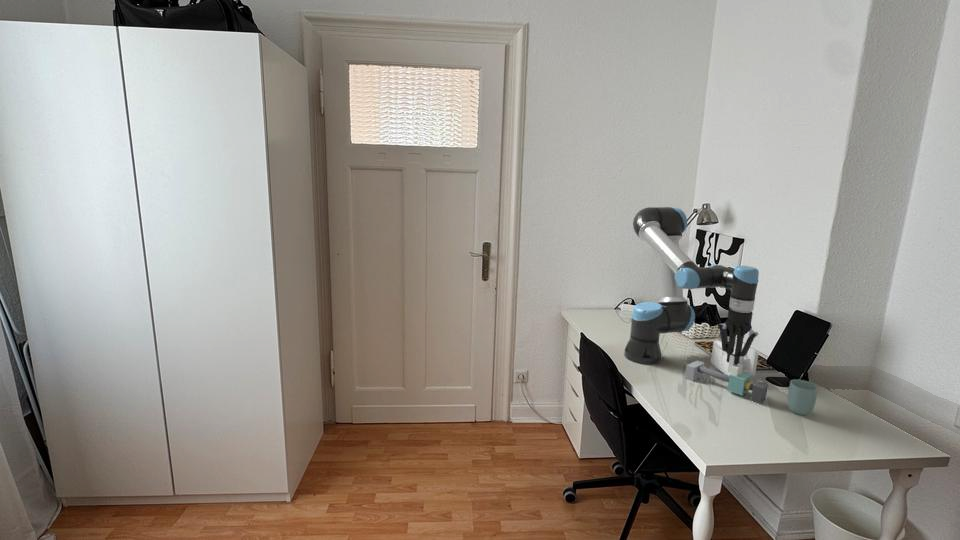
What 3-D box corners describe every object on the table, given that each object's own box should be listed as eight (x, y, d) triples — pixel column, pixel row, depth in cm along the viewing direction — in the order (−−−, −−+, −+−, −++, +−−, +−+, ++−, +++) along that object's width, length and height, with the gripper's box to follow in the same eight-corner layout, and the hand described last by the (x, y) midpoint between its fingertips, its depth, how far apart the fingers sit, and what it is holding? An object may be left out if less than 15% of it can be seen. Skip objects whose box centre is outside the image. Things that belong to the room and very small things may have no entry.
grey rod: (694, 371, 176) (695, 365, 176) (697, 370, 178) (698, 363, 177) (753, 392, 160) (754, 386, 160) (756, 390, 162) (757, 383, 161)
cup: (813, 420, 148) (819, 392, 146) (785, 413, 152) (790, 385, 150) (812, 410, 155) (817, 383, 152) (784, 403, 159) (789, 377, 156)
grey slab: (685, 378, 177) (686, 365, 175) (695, 372, 182) (696, 360, 180) (692, 381, 174) (694, 368, 173) (702, 375, 179) (704, 362, 178)
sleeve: (727, 390, 166) (730, 367, 164) (734, 385, 169) (738, 363, 167) (741, 395, 162) (745, 372, 160) (748, 390, 165) (752, 367, 163)
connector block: (750, 400, 160) (753, 385, 159) (756, 396, 163) (758, 381, 162) (759, 404, 158) (762, 388, 157) (765, 400, 161) (768, 384, 160)
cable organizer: (756, 380, 176) (761, 352, 174) (730, 380, 175) (734, 352, 173) (732, 364, 191) (736, 338, 188) (708, 364, 190) (712, 338, 188)
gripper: (717, 307, 164) (708, 367, 169) (756, 316, 154) (746, 380, 159) (726, 303, 169) (717, 363, 174) (765, 312, 159) (754, 375, 164)
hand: (731, 371), depth 167 cm, fingers closed
